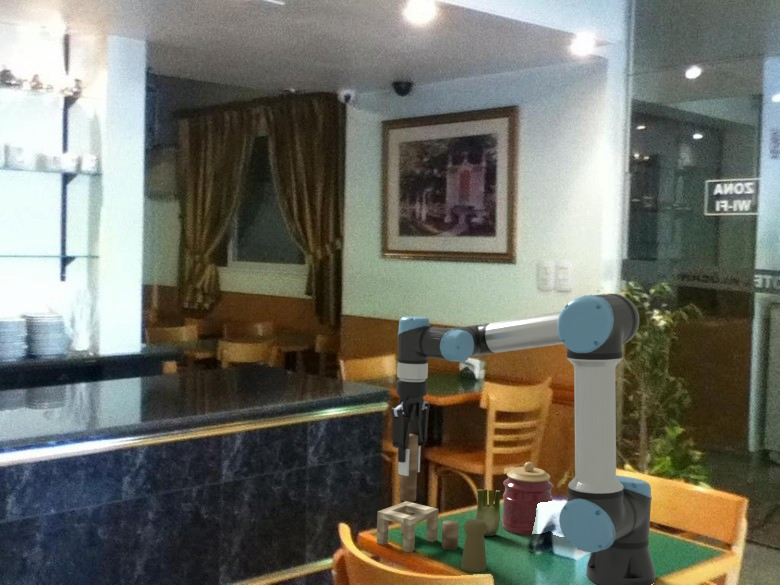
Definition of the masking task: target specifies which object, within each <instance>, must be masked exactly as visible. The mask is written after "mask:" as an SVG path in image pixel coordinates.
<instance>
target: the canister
mask: <svg viewBox="0 0 780 585" xmlns="http://www.w3.org/2000/svg"><path fill="white" fill-rule="evenodd" d="M506 476H507V478H506V479H505V480H503V486H504V488H505V489H504V492H503V494H502V498H503V499H502V500H503V501H502V502H503V504H502V516H501V523H502V527H503V529H504V530H506V531H508V532H510V533H514V534H519V535H524V536H525V535H526V536H532V535H531V534H532V531H533V526H534V522H535V517H536V508H537V504H538V503H540V502H548V501H552V502H553V500H554V498H553V496H552V489H554V485H553V483H552V482H551V481H550V479H551V475H550V474H549V473H548V472H546V471H545V470H543V469H542V468H538V467H535V465H534V463H533V462H531V461H527V462H525V463H524V465H523V466H518V467H514V468H513V469H512V470H510V471H508V472H506Z"/></svg>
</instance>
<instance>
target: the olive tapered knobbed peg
mask: <svg viewBox="0 0 780 585" xmlns="http://www.w3.org/2000/svg"><path fill="white" fill-rule="evenodd" d="M463 525H464V526H463V530H464V533H465V538H464V539H465V541H464V546H463V552H462V557H461V565H460V567H461V569H462V570H465V571H467V572H472V573H473V572H474V573H477V572H478V573H480V572H484V571H486V570H487V569H488V565H487V554H486V552H487V551H486V545H485V544H486V543H485V536H484V535H485V533H486V530H487V527H486V524H485V522H484V521H482V520H479V519H475V518H471V519H468V520H466V521H465V523H464V524H463Z"/></svg>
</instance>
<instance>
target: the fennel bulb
mask: <svg viewBox="0 0 780 585" xmlns="http://www.w3.org/2000/svg"><path fill="white" fill-rule="evenodd" d="M476 491H477V508H476V512H475V516H474V519H479V520H482V521H484V522H485V524H486V527H487V530H486V533H485V535H484V537H485V536H486V537H492V536H495V535H496V534H497V533H498V530H499V527H500V522H501V506H500V505H501V503H500V502H501V490H497V489H496V490H495V495H494V489H487V488H484V489H477V490H476Z"/></svg>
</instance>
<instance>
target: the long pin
mask: <svg viewBox="0 0 780 585" xmlns="http://www.w3.org/2000/svg"><path fill="white" fill-rule="evenodd" d="M407 449H410V453H409V476H405V475H400V490H399V500H400V501H403V502H405V501H407V502H415V501H416V500H417V482H418V481H417V480H418V472H417V457H418V435H416V434H411V433H410V434H409V441H408V448H407Z"/></svg>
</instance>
